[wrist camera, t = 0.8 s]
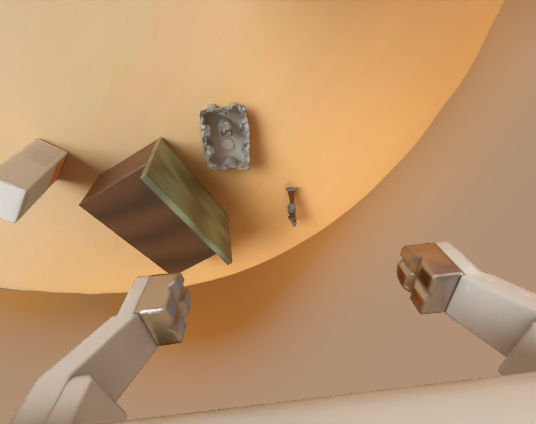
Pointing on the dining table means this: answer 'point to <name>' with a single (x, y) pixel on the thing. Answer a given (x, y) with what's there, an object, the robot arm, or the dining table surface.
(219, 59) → the dining table surface
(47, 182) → the cosmetic box
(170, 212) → the shelf
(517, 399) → the robot arm
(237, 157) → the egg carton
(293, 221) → the wooden post with brackets
